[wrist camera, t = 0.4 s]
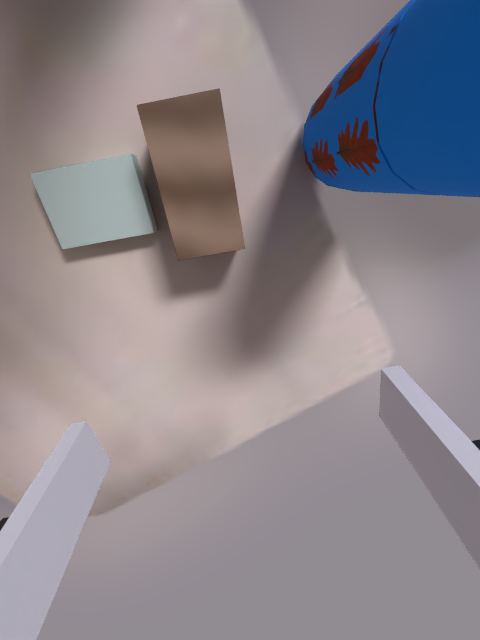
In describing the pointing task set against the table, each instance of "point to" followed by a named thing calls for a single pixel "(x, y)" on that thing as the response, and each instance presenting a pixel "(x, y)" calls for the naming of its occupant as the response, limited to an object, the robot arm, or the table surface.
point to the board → (96, 201)
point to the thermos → (405, 107)
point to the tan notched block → (194, 172)
